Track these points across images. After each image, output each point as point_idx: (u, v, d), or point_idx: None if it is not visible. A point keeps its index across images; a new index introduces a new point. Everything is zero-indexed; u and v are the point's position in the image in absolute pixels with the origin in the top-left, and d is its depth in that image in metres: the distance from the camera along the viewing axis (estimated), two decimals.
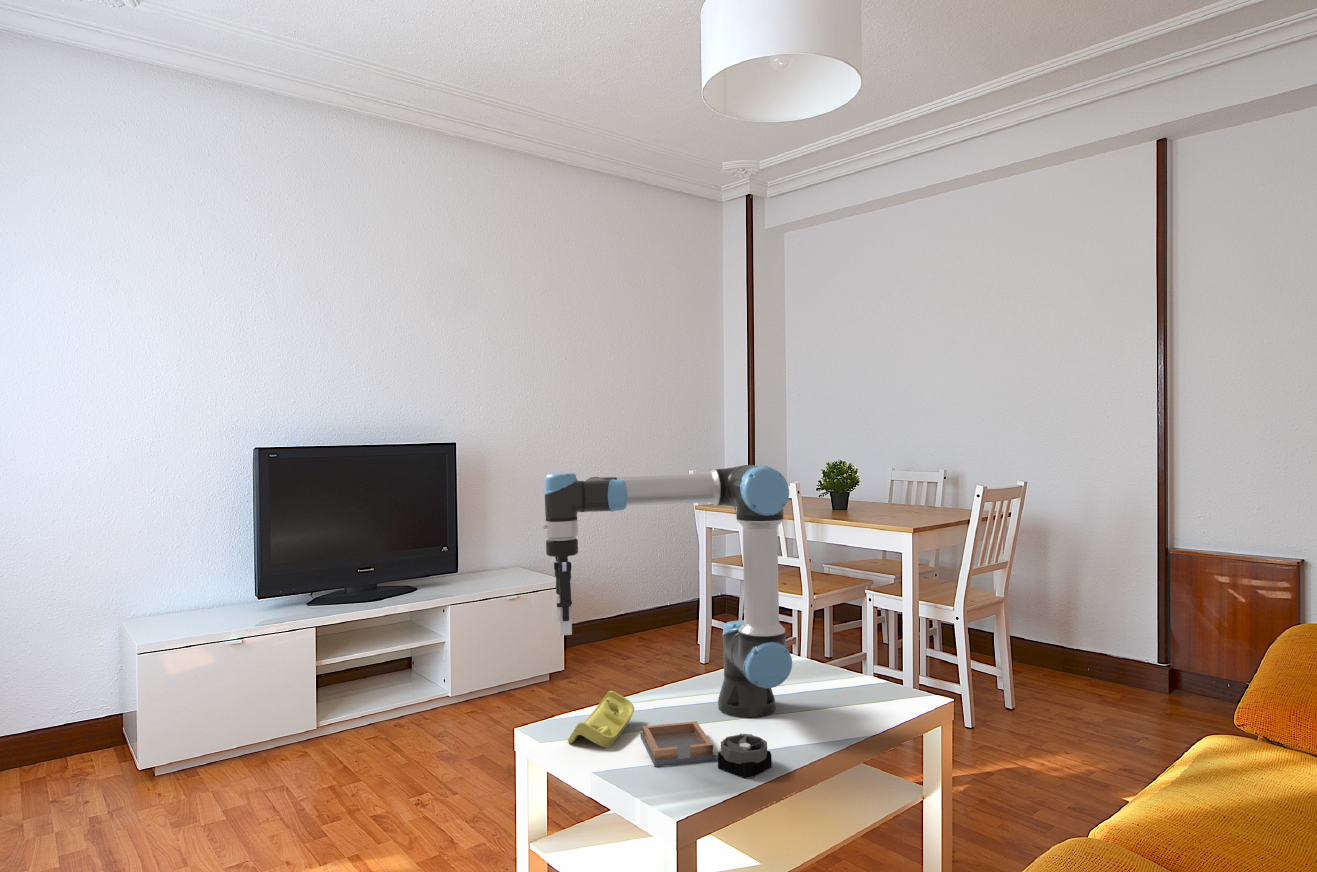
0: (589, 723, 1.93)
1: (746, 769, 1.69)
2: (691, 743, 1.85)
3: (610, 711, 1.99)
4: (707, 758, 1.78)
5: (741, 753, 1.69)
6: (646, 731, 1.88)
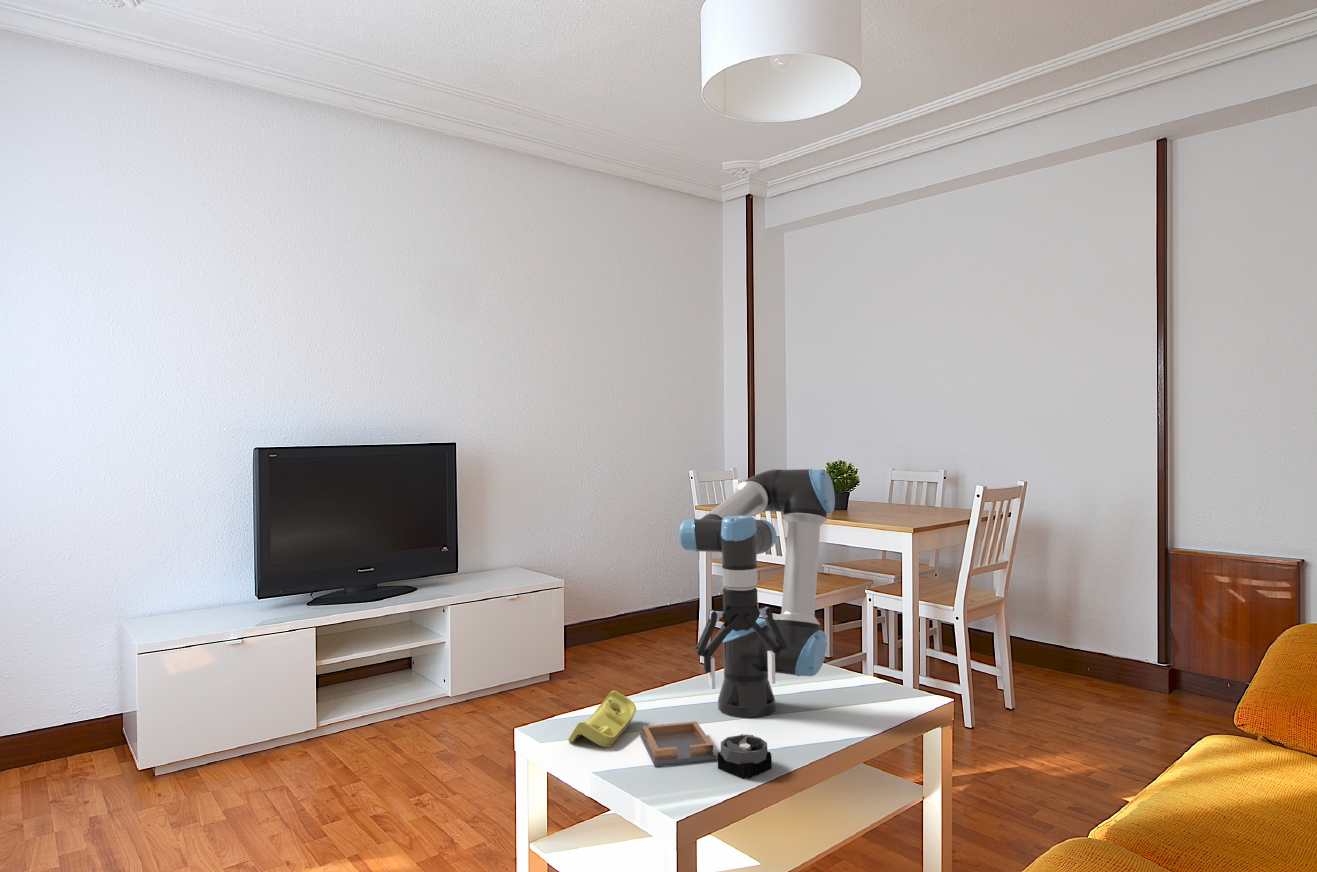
0: (590, 723, 1.93)
1: (745, 770, 1.68)
2: (691, 743, 1.85)
3: (612, 711, 1.99)
4: (707, 758, 1.78)
5: (740, 753, 1.69)
6: (646, 731, 1.88)
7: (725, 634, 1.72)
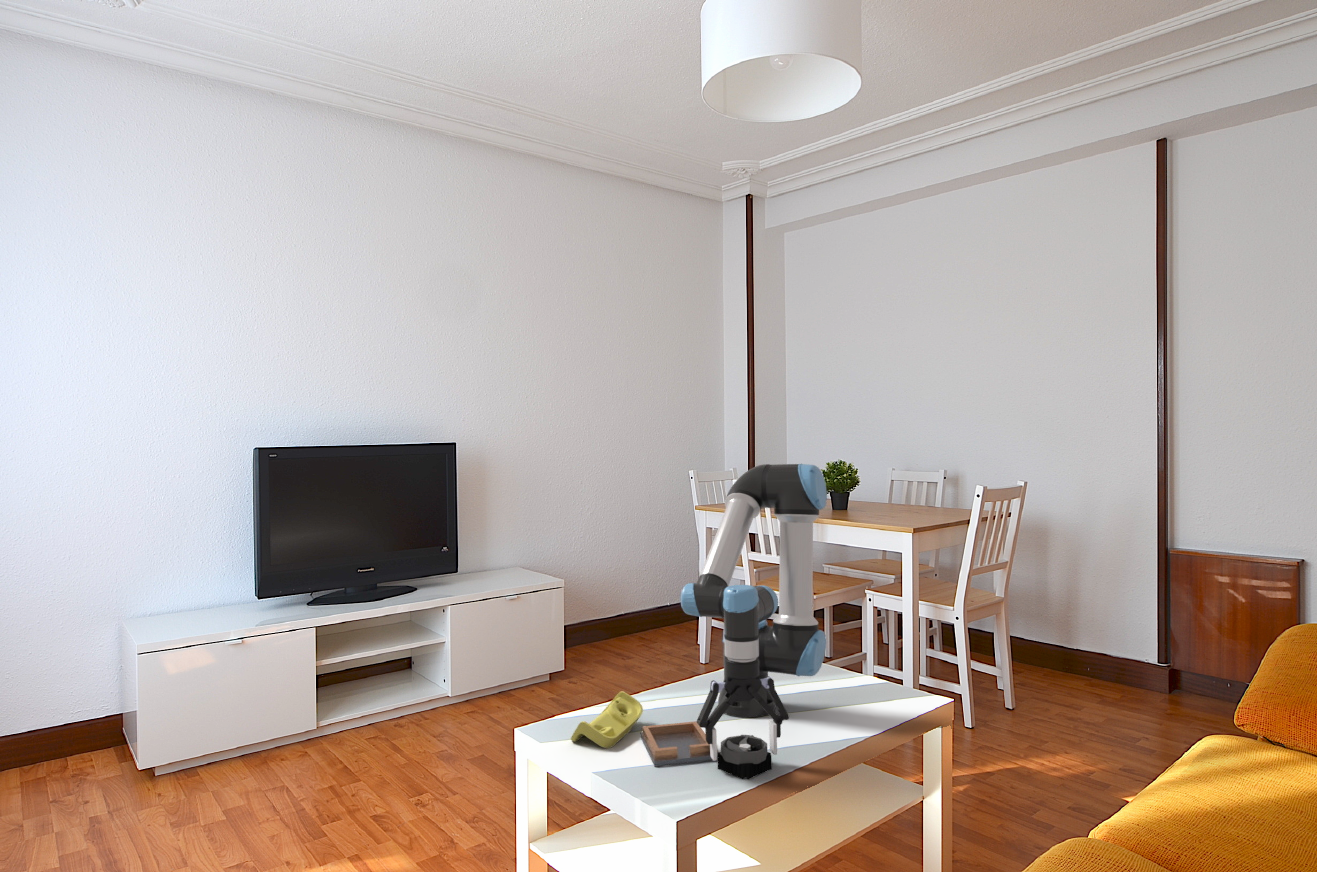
0: (593, 723, 1.93)
1: (744, 770, 1.68)
2: (691, 743, 1.85)
3: (617, 712, 1.98)
4: (707, 758, 1.78)
5: (739, 754, 1.69)
6: (646, 731, 1.88)
7: (727, 705, 1.72)
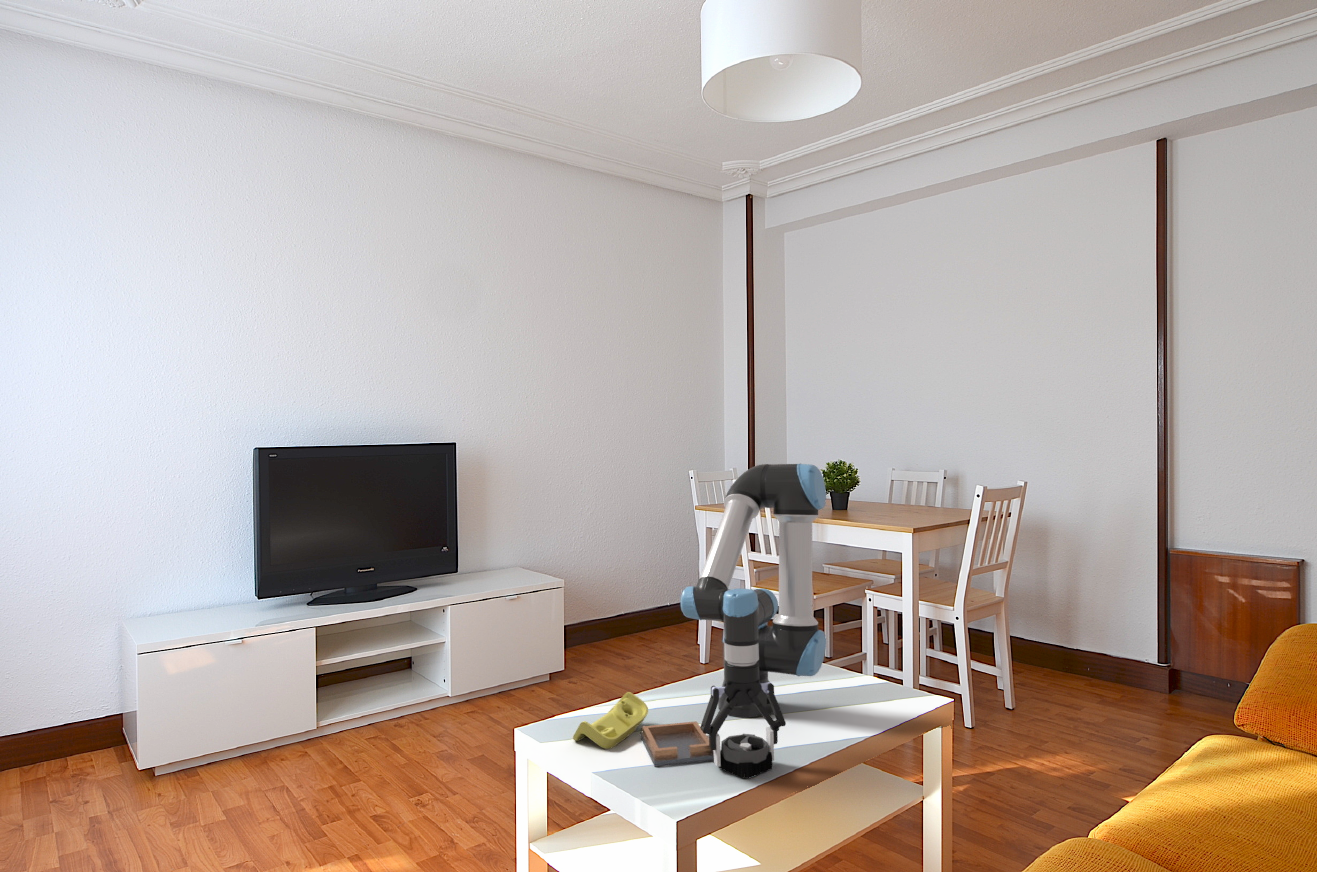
0: (596, 723, 1.93)
1: (744, 769, 1.68)
2: (691, 743, 1.85)
3: (622, 712, 1.98)
4: (707, 758, 1.78)
5: (739, 753, 1.69)
6: (646, 731, 1.88)
7: (728, 710, 1.72)
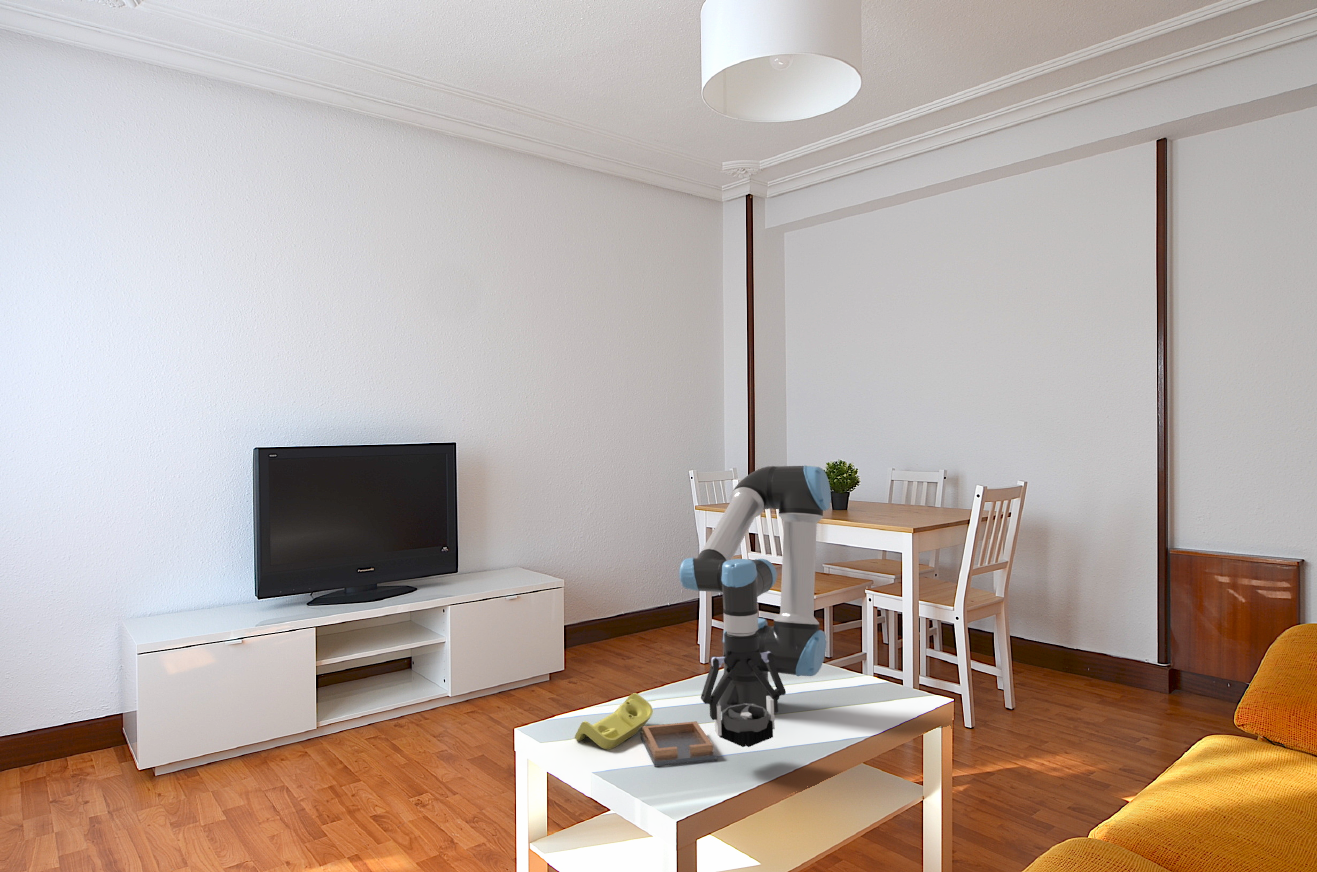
0: (599, 723, 1.93)
1: (745, 738, 1.69)
2: (691, 743, 1.85)
3: (625, 713, 1.97)
4: (707, 758, 1.78)
5: (739, 722, 1.69)
6: (646, 731, 1.88)
7: (729, 680, 1.73)
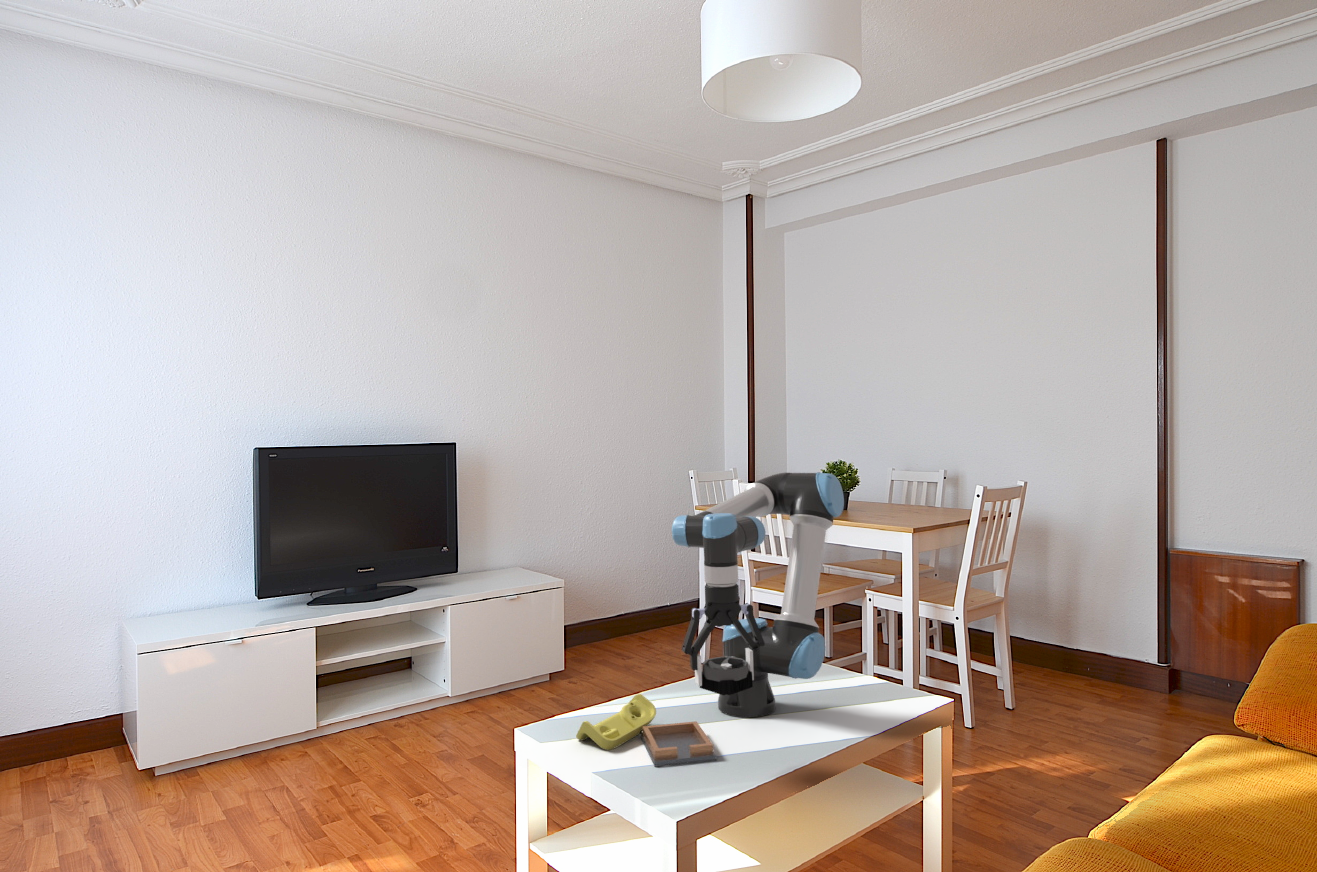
0: (601, 723, 1.93)
1: (725, 686, 1.72)
2: (691, 743, 1.85)
3: (628, 714, 1.96)
4: (707, 758, 1.78)
5: (720, 671, 1.72)
6: (646, 731, 1.88)
7: (709, 631, 1.75)
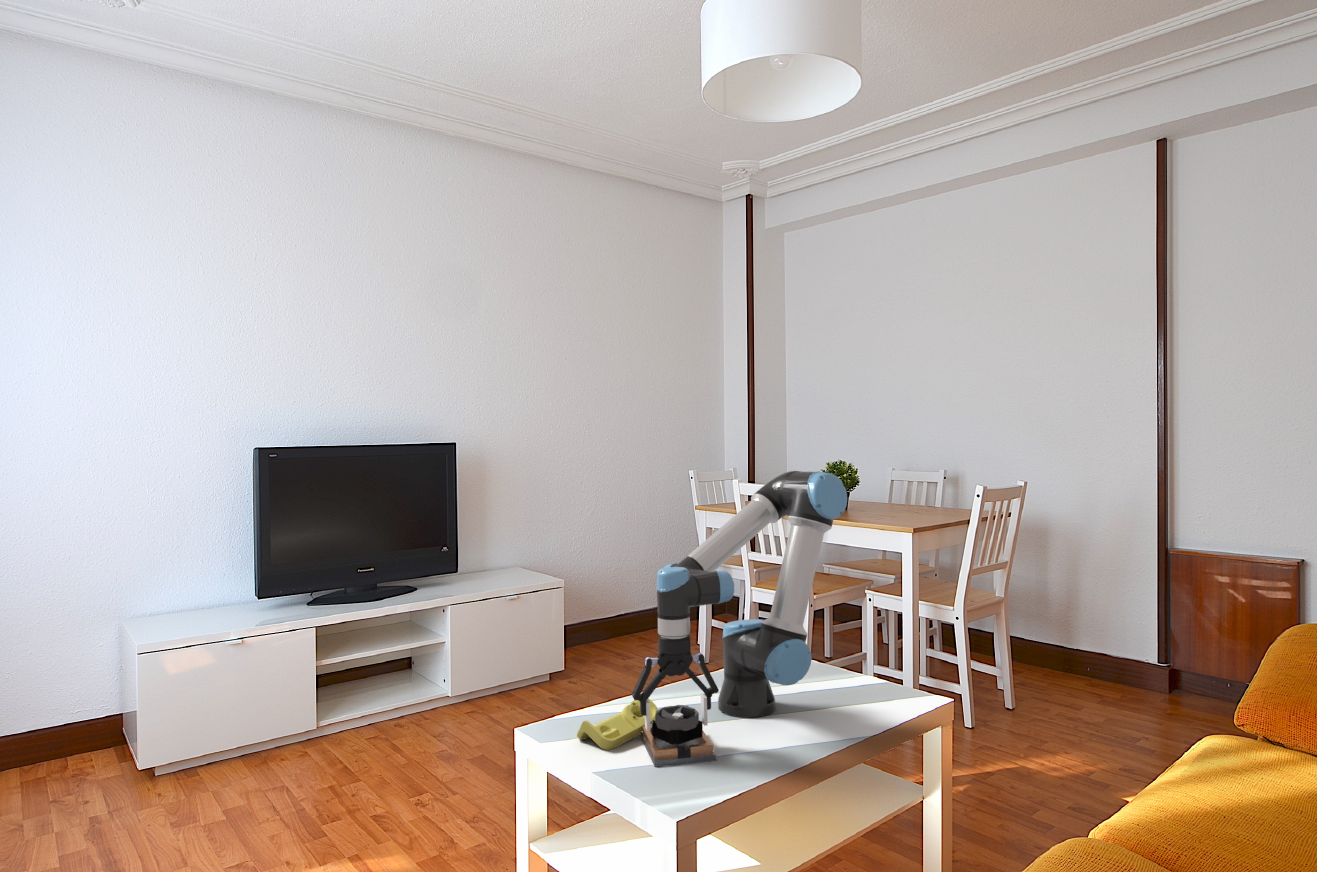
0: (602, 723, 1.93)
1: (674, 736, 1.80)
2: (691, 743, 1.85)
3: (630, 714, 1.96)
4: (707, 758, 1.78)
5: (670, 721, 1.80)
6: (646, 731, 1.88)
7: (660, 679, 1.84)
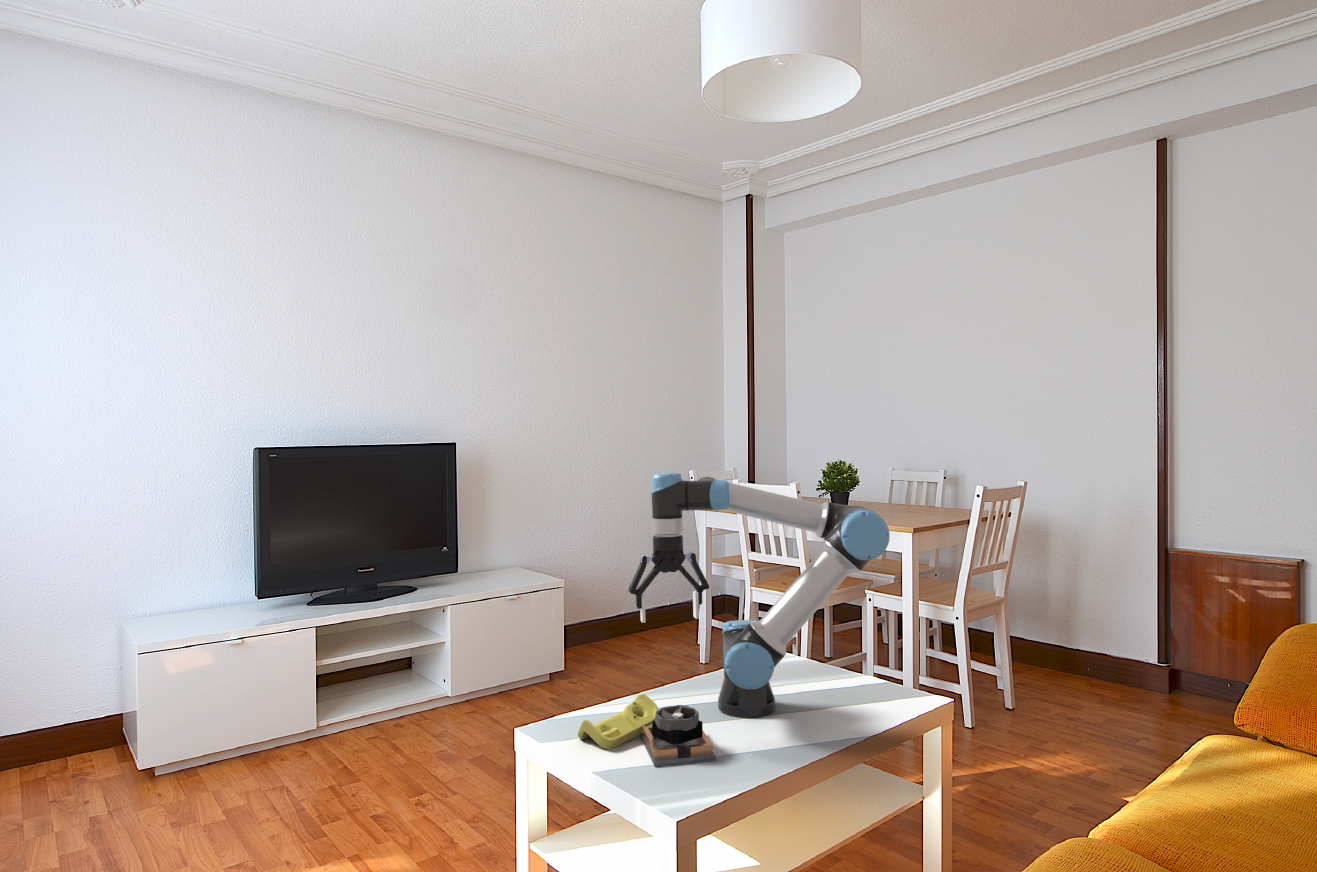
0: (602, 722, 1.94)
1: (674, 736, 1.80)
2: (691, 743, 1.85)
3: (631, 714, 1.97)
4: (707, 758, 1.78)
5: (670, 721, 1.80)
6: (646, 731, 1.88)
7: (654, 575, 1.98)
